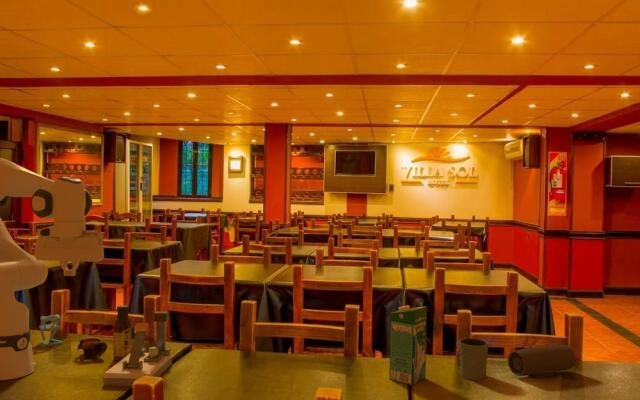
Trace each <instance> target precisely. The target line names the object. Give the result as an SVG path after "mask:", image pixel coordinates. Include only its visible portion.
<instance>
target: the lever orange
mask: <svg viewBox="0 0 640 400" xmlns="http://www.w3.org/2000/svg"><path fill="white" fill-rule="evenodd" d="M150 328H151V325H150V323H147V322H146V323H144V322H135V324H134V329H133V333H134V334H135V335H134V338H133V339H134V340H133V343H132V345H131V348H132V350H131V354H130V358H129V362H128V363H126V368H136V369H138V368H139V359H140V355H141V351H142V348H144V347H143V346H144V342H145V339H146V338H145V337H146V335H149V333H150Z"/></svg>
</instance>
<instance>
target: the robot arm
mask: <svg viewBox="0 0 640 400" xmlns="http://www.w3.org/2000/svg"><path fill="white" fill-rule="evenodd" d="M27 197H28V198H31V199H30V208H31V210H32V213H33V214H34V215H35V216H36V217H38V218H41V219H54V220H53V225H48V226H46V227H42V228H40V229H37V232H36V235H37V237H38V238H36V239H35V246H34V256H33V255H32V254H30V253H29V252H27V251H26V250H24V249H23V248H22V247H21V246H20V245H19V244H17V243H16V242H15V240H13V237H12V236H11V233H10V232H9V230H8V229H7V227H6V225H5V223H4V222H3V220H2V218H1V217H0V381H6V380H14V379H19V378H22V377H25V376H28V375H30V374H32V373H33V372H34V371H35V367H36V365H37V364H36V362H35V361H34V354H33V347H32V343H31V342H30V341H31V330H30V325H29V323H30V322H29V321H30V318H29V316H30V311H29V308H28V307H27V305H26V304H25V303H23V302H20V301H18V300H17V299H16V296H15V292H19V291H24V290H29V289H33V288H36V287H37V286H39V285H43V284H44V283H45V282H46V280H47V278H48V274H49V269H48V266H47V264H46V262H47V261H48V262H49V261H50V262H59V265H60V267H61V269H62V270H63V276H64V277H66V276H67V277H75V276H76V275H77V269H78V267H79V265H80V262H92V263H93V262H94V263H95V262H101V261H102V260H103V259H104V258H105V251H104V235H103V234H102V232H99V231H98V230H87V229H86V226H87V223H86V216H87V215H88V214H89V212H90V211H91V209H92V207H93V199H92V198H93V197H92V196H91V194H90V193H89V191H88V190H87V189H86V188H85V183H84V181H83V180H81V179H80V178H76V177H72V176H71V177H70V176H60V177H57V178H56V179H55V180H53V179H50V178H48V177H45V176H43V175H40V174H38V173H35V172H33V171H32V170H29V169H27V168H25V167H23V166H21V165H19V164H16V163H15V162H14V161H11V160H9V159H6V158H3V157H0V207H5V206H6V205H7V203H8V202H9V201H11V199H12V198H27ZM45 261H46V262H45ZM69 262H71V265H72V267H71V269H69V266H68V265H67V264H68V263H69Z"/></svg>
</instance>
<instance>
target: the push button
mask: <svg viewBox="0 0 640 400" xmlns="http://www.w3.org/2000/svg"><path fill="white" fill-rule="evenodd" d="M148 353H149V358H157V357H158V347H156V346H151V347H148Z"/></svg>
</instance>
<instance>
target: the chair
mask: <svg viewBox="0 0 640 400" xmlns="http://www.w3.org/2000/svg"><path fill="white" fill-rule="evenodd" d="M39 319H40V325H39V327H38V328H39V331H40V335H41V338H42V342H41V348H45V347H51V346H52V347H53V346H58V345H59V346H60V345H62V344H63V341H62V340H58V339H55V338H54V336H55V334H56V331H57V330H59V329H61V325H59V321H60V319H61V316H60V314H57V313H55V314H50V315H47V316H45V315H42V316H40V318H39ZM50 321H53V323H51V324H46V323H47V322H50ZM50 330H53V331H52V332H51V335H50V337H49V342H51V341H53V342H51V343H49V342H48V343H46V337H45V334H44V332H46V331H50Z"/></svg>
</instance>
